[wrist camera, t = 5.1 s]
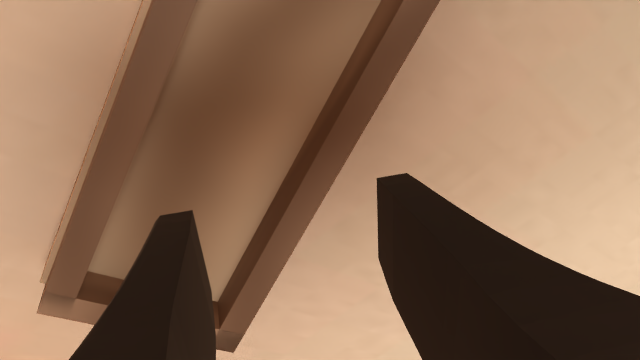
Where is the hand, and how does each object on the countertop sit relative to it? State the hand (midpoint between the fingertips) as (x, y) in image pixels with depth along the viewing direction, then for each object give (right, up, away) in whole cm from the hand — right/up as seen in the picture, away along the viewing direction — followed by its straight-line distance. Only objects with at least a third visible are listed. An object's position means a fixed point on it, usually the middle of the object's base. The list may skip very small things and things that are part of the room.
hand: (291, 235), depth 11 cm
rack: (-2, +5, +8) cm, 9 cm away
